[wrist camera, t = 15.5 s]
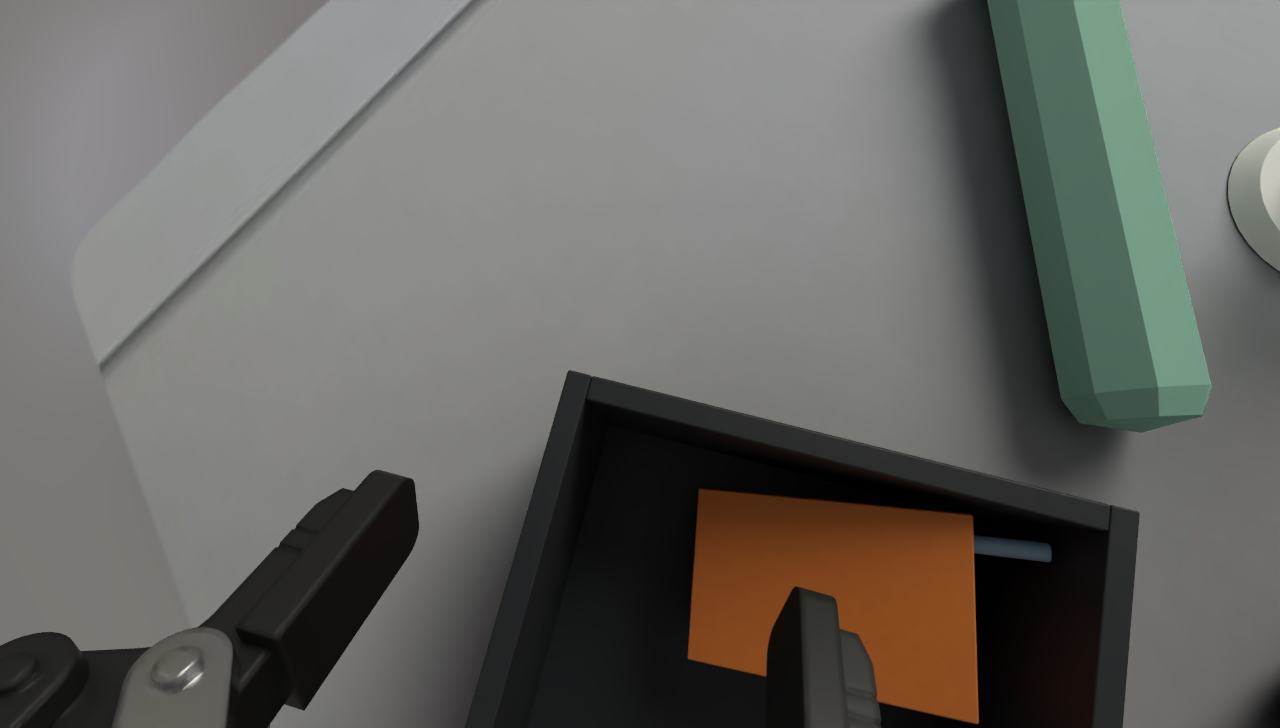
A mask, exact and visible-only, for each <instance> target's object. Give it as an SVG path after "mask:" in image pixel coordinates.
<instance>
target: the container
mask: <svg viewBox="0 0 1280 728" xmlns="http://www.w3.org/2000/svg"><path fill="white" fill-rule="evenodd" d="M987 2H988V8H989V13H990V18H991V24H992V29H993V35H994V40H995V45H996V51H997V56H998V62H999V67H1000V72H1001V78H1002V83H1003V89H1004V94H1005V99H1006V105H1007V110H1008V115H1009V121H1010V126H1011V132H1012V137H1013V142H1014V148H1015V153H1016V159H1017V164H1018V169H1019V175H1020V180H1021V186H1022V191H1023V196H1024V202H1025V207H1026V212H1027V218H1028V223H1029V229H1030V234H1031V239H1032V245H1033V250H1034V256H1035V261H1036V266H1037V272H1038V277H1039V283H1040V288H1041V293H1042V299H1043V304H1044V309H1045V315H1046V320H1047V326H1048V331H1049V336H1050V342H1051V347H1052V353H1053V358H1054V363H1055V369H1056V374H1057V380H1058V385H1059V390H1060V396H1061V400H1062V401H1063V402H1064V404H1065V405H1066V406H1067V408H1068V409H1069V410H1070V411H1071V413H1072V414H1073V415H1074V417H1075V418H1076V419H1077V421H1078V422H1079V423H1081V424H1088V425H1095V426H1101V427H1108V428H1115V429H1122V430H1128V431H1135V432H1145V431H1149V430H1152V429H1156V428H1160V427H1163V426H1167V425H1171V424H1175V423H1178V422H1182V421H1186V420H1189V419H1193V418H1197V417H1201V416H1202V415H1203V413H1204V410H1205V407H1206V404H1207V401H1208V398H1209V395H1210V392H1211V390H1212V386H1211V382H1210V378H1209V374H1208V369H1207V365H1206V361H1205V357H1204V353H1203V348H1202V344H1201V340H1200V336H1199V332H1198V327H1197V323H1196V319H1195V315H1194V311H1193V306H1192V302H1191V298H1190V294H1189V290H1188V285H1187V281H1186V277H1185V273H1184V269H1183V264H1182V260H1181V256H1180V252H1179V248H1178V243H1177V239H1176V235H1175V231H1174V227H1173V223H1172V218H1171V214H1170V210H1169V206H1168V202H1167V197H1166V193H1165V189H1164V185H1163V181H1162V176H1161V172H1160V168H1159V164H1158V160H1157V155H1156V151H1155V147H1154V143H1153V139H1152V134H1151V130H1150V126H1149V122H1148V118H1147V113H1146V109H1145V105H1144V101H1143V97H1142V92H1141V88H1140V84H1139V80H1138V76H1137V72H1136V67H1135V63H1134V59H1133V55H1132V51H1131V46H1130V42H1129V38H1128V34H1127V30H1126V25H1125V21H1124V17H1123V13H1122V9H1121V4H1120V0H987Z"/></svg>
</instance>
